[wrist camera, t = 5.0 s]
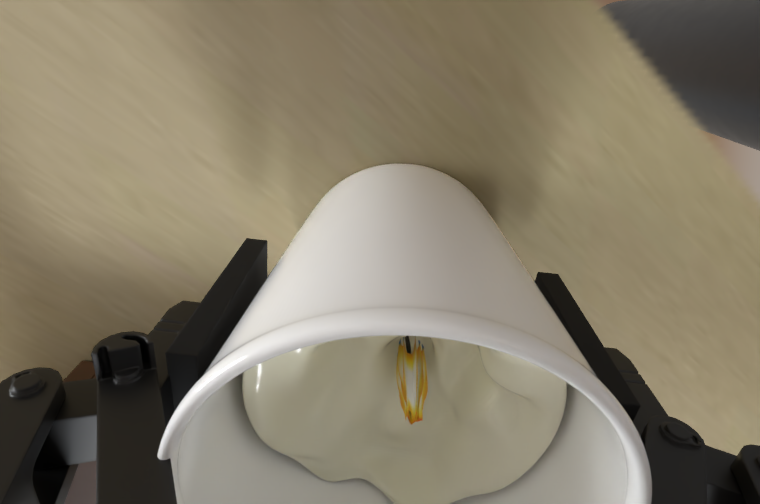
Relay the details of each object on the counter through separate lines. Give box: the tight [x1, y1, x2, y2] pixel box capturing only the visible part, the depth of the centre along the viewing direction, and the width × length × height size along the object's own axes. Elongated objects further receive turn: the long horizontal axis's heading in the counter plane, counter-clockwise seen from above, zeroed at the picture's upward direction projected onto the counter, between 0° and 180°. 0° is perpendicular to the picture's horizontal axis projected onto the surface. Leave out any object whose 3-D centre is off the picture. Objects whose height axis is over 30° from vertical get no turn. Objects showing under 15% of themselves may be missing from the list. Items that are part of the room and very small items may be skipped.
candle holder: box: [157, 163, 652, 504], centre depth 15 cm, size 10×10×12 cm
